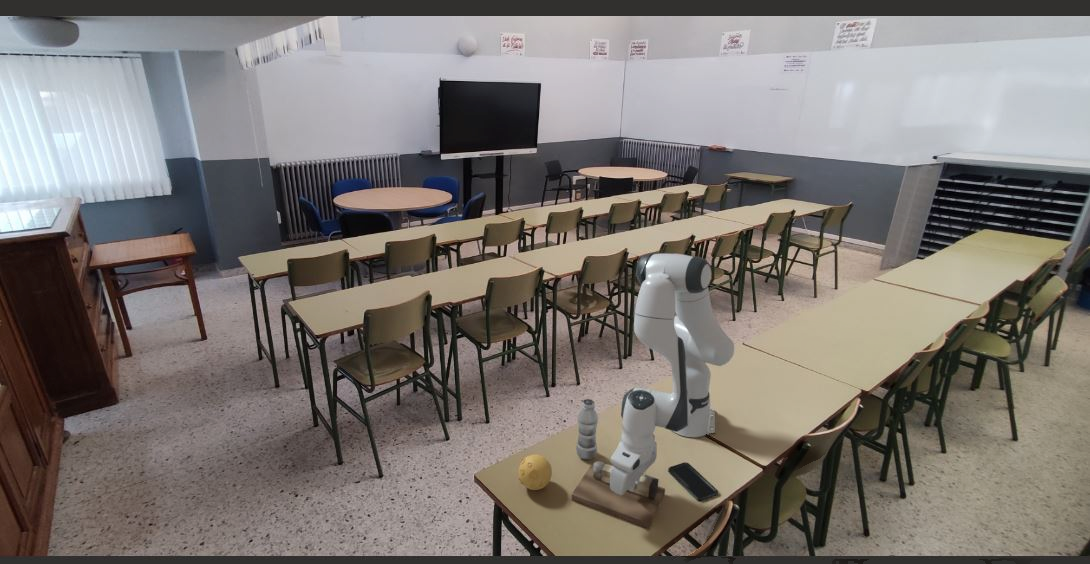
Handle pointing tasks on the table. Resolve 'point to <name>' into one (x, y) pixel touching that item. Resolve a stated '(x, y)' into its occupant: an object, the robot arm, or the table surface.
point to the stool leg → (644, 485)
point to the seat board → (617, 500)
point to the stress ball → (534, 472)
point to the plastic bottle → (587, 430)
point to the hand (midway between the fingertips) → (632, 489)
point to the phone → (693, 481)
